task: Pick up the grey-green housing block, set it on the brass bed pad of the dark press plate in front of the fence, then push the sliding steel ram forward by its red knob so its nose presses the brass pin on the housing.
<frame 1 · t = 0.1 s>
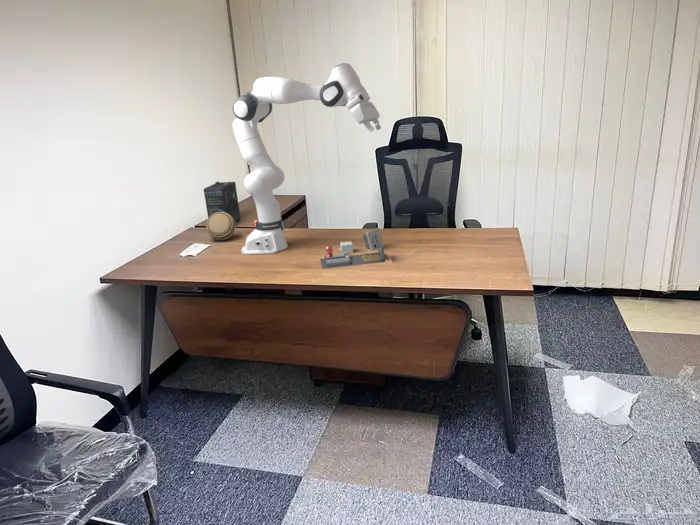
hand: (375, 130, 200), 54 cm above the table, tool tilted 30°, fingers open, 8 cm apart
mechanical component: (223, 239, 258), on the table
housing: (347, 253, 222), on the table
headset box: (225, 225, 289), on the table
ram: (338, 253, 208), point 5 cm above the table, slide at 0.0 cm
electrical switch: (373, 249, 226), on the table
press: (352, 262, 210), on the table
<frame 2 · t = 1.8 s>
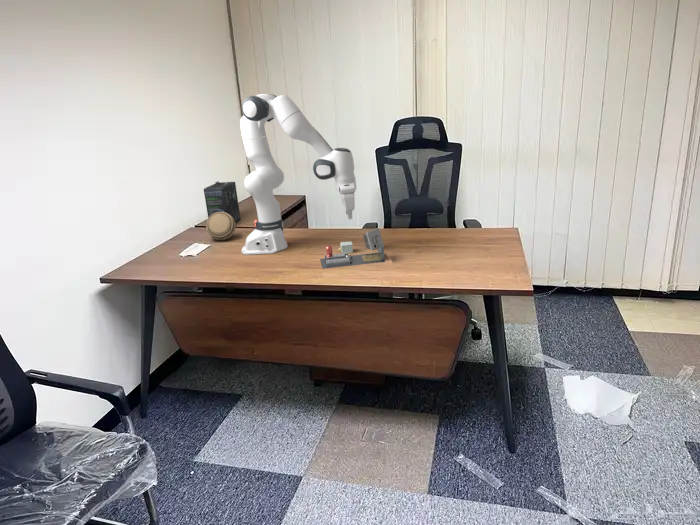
hand: (349, 216, 215), 18 cm above the table, tool pointing down, fingers open, 8 cm apart
nothing on the table moved.
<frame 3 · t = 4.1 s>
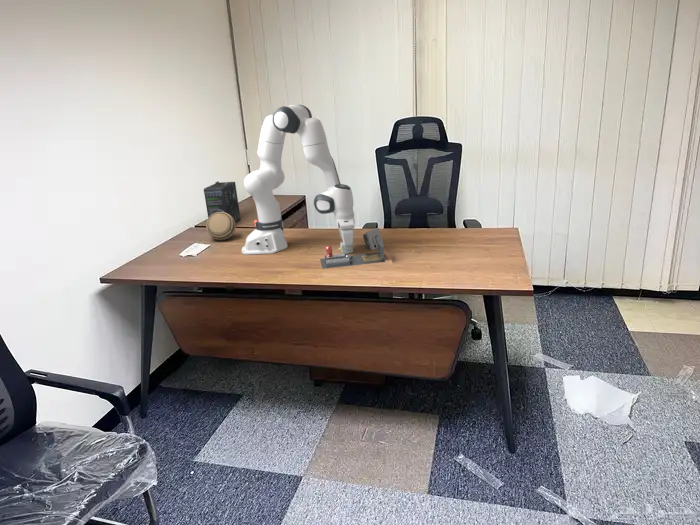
hand: (346, 250, 221), 2 cm above the table, tool pointing down, fingers closed on housing, 5 cm apart
housing: (347, 253, 222), on the table, touching gripper
everything else where it was.
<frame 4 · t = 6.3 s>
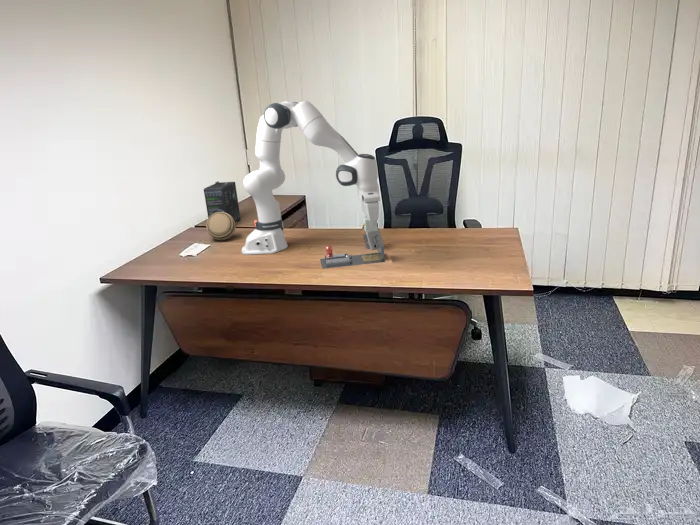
hand: (370, 225, 206), 16 cm above the table, tool pointing down, fingers closed on housing, 5 cm apart
housing: (370, 229, 206), point 14 cm above the table, touching gripper
everything else where it was.
when the fingers open (4 cm above the table, at t = 8.9 s): housing stays where it is, resting on press.
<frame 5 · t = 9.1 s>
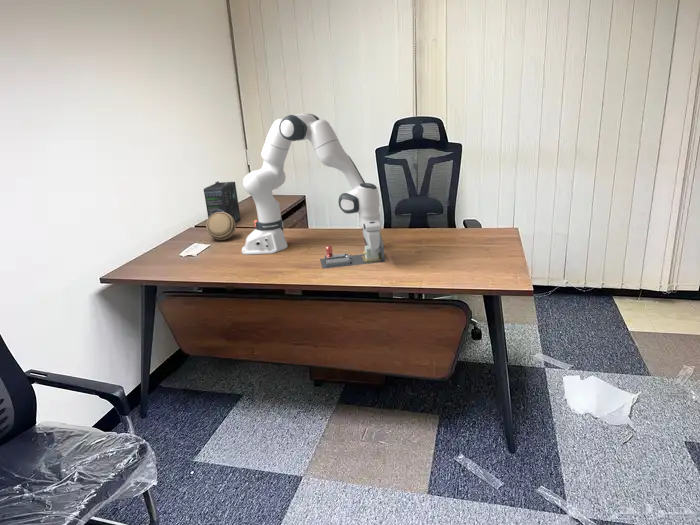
hand: (371, 252, 210), 4 cm above the table, tool pointing down, fingers open, 7 cm apart
housing: (371, 257, 210), point 1 cm above the table, touching press
everything else where it was.
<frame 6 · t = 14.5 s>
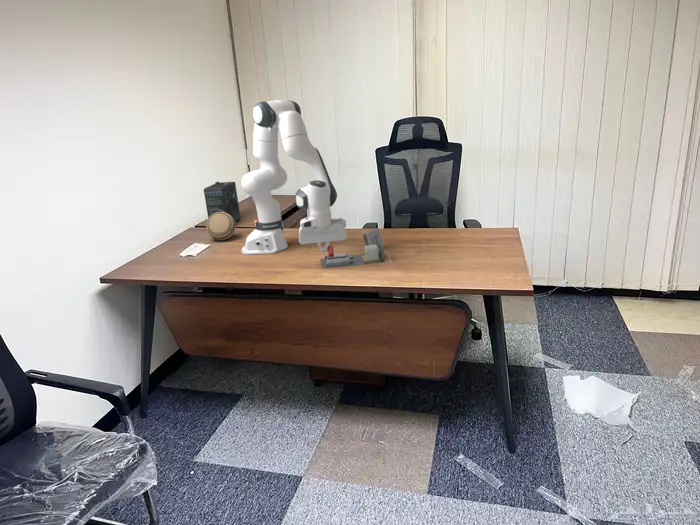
hand: (323, 251, 206), 6 cm above the table, tool pointing down, fingers closed
ram: (339, 253, 208), point 5 cm above the table, slide at 0.5 cm, touching gripper
everything else where it was.
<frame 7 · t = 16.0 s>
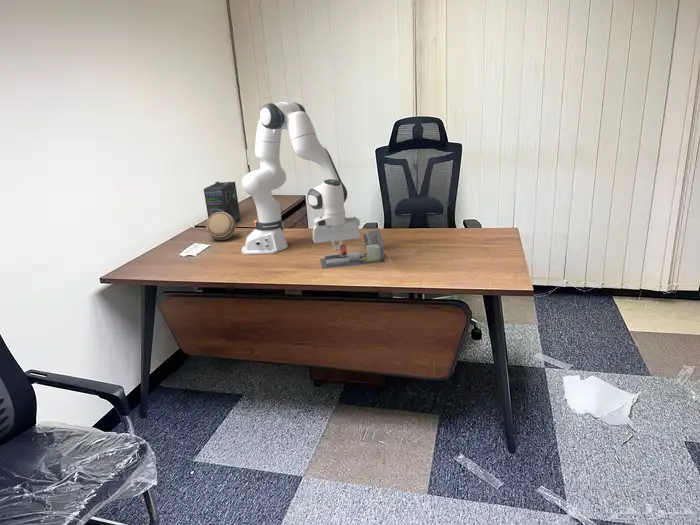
hand: (337, 250, 207), 6 cm above the table, tool pointing down, fingers closed
housing: (374, 257, 211), point 1 cm above the table, touching press, ram
ram: (353, 251, 208), point 5 cm above the table, slide at 6.2 cm, touching gripper, housing
everything else where it was.
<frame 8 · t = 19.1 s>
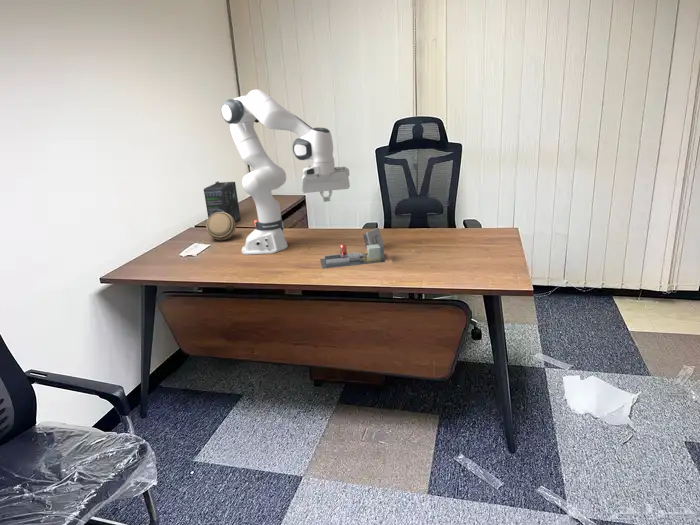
hand: (326, 201, 204), 27 cm above the table, tool pointing down, fingers closed
ram: (353, 251, 208), point 5 cm above the table, slide at 6.2 cm, touching housing
everything else where it was.
at the end: housing 0.6 cm from the target spot, point 1.2 cm above the table; housing tilted 0°; ram slide at 6.2 cm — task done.
